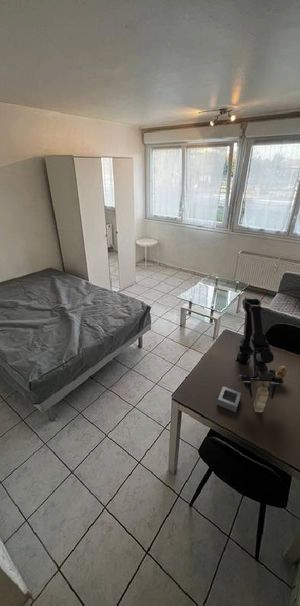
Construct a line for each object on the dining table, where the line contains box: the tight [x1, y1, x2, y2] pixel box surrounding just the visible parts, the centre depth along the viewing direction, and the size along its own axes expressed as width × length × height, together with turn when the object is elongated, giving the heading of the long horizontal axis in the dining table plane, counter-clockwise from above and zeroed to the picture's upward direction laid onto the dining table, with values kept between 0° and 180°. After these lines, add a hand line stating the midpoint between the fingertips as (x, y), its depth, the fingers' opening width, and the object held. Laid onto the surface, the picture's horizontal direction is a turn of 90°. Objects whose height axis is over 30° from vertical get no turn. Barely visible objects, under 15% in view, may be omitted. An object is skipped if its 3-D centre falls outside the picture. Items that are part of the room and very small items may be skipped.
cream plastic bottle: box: [253, 386, 270, 413], centre depth 119 cm, size 4×4×13 cm
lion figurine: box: [261, 365, 288, 387], centre depth 134 cm, size 15×5×9 cm, turn 117°
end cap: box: [216, 386, 242, 413], centre depth 125 cm, size 9×9×4 cm
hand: (261, 398), depth 118 cm, fingers open, 9 cm apart
